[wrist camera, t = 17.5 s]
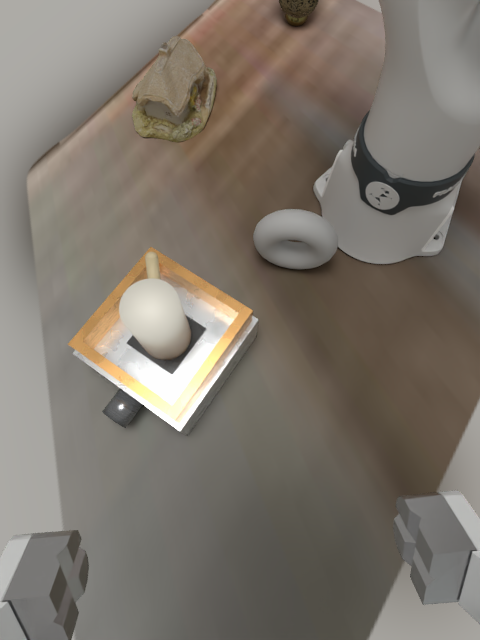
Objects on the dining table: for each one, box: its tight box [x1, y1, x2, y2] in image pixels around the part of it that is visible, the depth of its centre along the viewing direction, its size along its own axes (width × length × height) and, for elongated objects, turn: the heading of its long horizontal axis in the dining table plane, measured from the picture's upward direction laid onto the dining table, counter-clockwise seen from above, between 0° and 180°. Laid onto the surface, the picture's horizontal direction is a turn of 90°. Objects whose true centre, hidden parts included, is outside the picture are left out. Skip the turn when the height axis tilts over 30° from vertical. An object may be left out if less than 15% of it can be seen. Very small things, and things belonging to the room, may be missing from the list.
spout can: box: [119, 252, 191, 360], centre depth 39 cm, size 9×5×8 cm, turn 5°
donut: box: [253, 209, 338, 269], centre depth 48 cm, size 10×4×10 cm, turn 80°
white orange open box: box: [68, 247, 258, 436], centre depth 44 cm, size 17×14×9 cm
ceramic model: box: [132, 36, 217, 142], centre depth 57 cm, size 14×11×10 cm
